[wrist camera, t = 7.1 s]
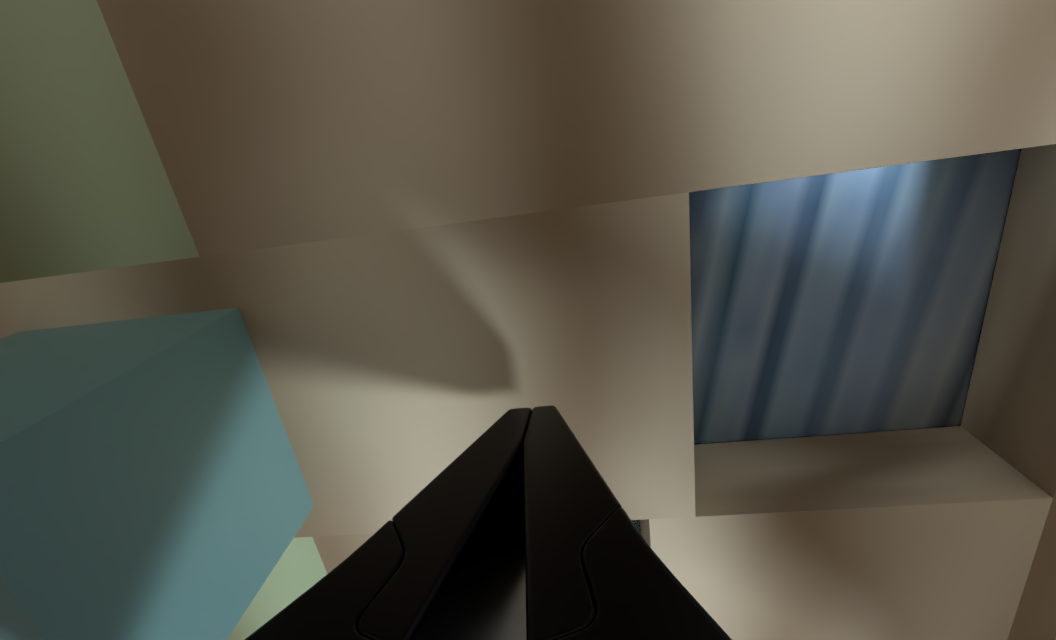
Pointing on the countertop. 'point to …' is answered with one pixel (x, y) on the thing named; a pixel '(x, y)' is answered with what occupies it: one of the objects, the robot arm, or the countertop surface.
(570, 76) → the trap board
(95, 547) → the block
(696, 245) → the countertop surface
